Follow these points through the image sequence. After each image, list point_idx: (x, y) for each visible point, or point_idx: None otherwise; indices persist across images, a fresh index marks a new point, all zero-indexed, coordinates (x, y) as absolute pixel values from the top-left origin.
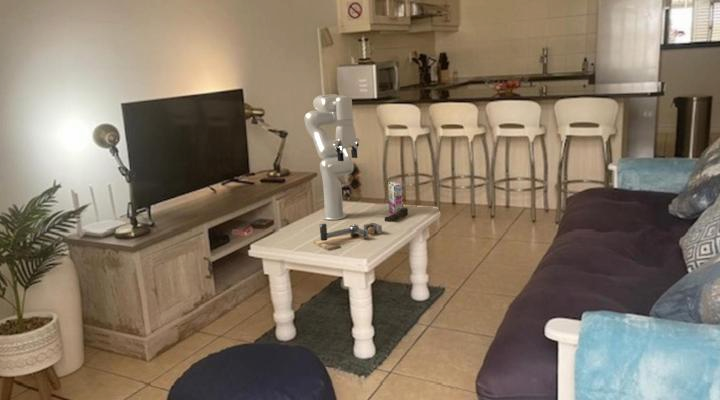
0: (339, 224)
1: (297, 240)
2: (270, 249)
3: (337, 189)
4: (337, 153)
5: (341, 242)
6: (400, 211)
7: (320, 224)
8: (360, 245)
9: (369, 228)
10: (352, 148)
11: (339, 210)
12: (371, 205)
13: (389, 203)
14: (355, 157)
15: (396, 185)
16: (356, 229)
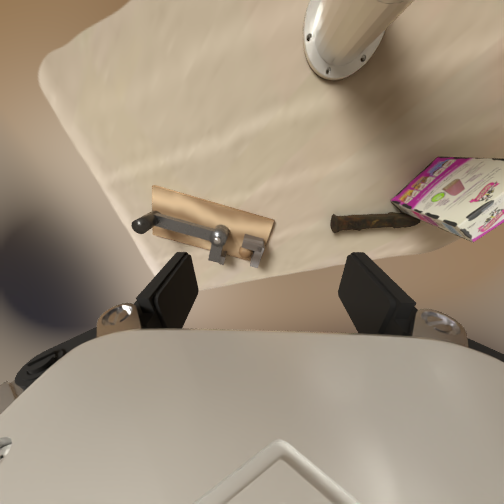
0: (282, 120)
1: (138, 132)
2: (66, 130)
3: (383, 1)
4: (143, 290)
5: (184, 234)
6: (389, 222)
7: (134, 222)
8: (205, 257)
9: (240, 254)
10: (402, 332)
11: (342, 56)
12: None
13: (451, 165)
14: (340, 289)
15: (463, 231)
16: (213, 248)
